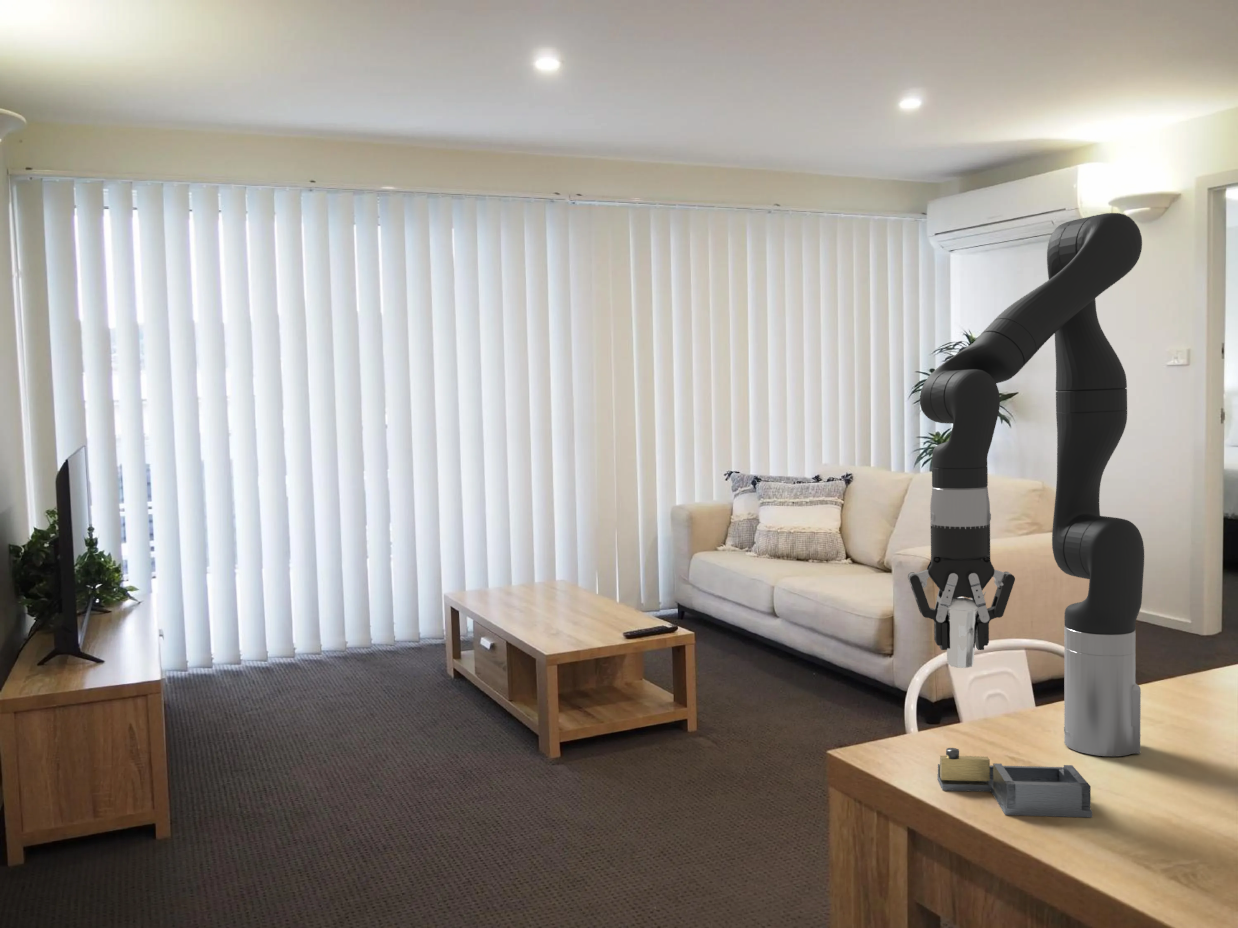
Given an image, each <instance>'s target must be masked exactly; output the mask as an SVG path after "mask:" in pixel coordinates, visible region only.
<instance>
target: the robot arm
mask: <svg viewBox="0 0 1238 928" xmlns="http://www.w3.org/2000/svg"><path fill="white" fill-rule="evenodd" d="M1047 244H1048V245H1047V250H1046V265H1047V266H1046V267H1047V275H1048V276H1047V277H1048V280H1047V281H1045V282H1044V283H1042V284H1041V285H1039V286H1037V287H1036V288H1035V289H1033V290H1032V291H1030V292H1029V293H1027V294H1026V295H1024V296H1022V297H1021V298H1019V299H1018V300H1016V301H1015V302H1013V303H1012V304H1011V305H1009V306H1008V307H1006V309H1004V310H1003V311H1002V312H1001V313H1000V314H998V315H997V317H996V318H994V320H993V321H992V322H991V323H990V324H989V325H988V326H987V327H986V328H985V329H984V330H983V331H982V332H981V333H980V335H979V336H978V337H977V338H976V339H975V341H973V343H971V344H970V345H968V346H967V347H965V348H964V349H962V350H960V351H959V352H957V353H956V354H954V355H953V356H952V357H950V358H949V359H947V360H946V361H944V362H943V363H942V364H941V365H939V366H938V367H937V368H936V369H935V370H933V371H932V372H931V373H930V375H928V377H927V379H926V380H925V381H924V383H923V385H922V386H921V387H922V388H921V390H920V393H919V405H920V408H921V411H922V413H923V414H924V415H925V417H927V418H928V419H929V420H931V421H933V422H935V423H939V424H952V429H951V431H950V435H949V436H950V437H948V438H949V439H948V440H947V441H945V442H942V443H939V444H937V445H936V446H935V447H934V448H933V450H932V454H931V455H932V456H931V495H930V496H931V497H930V505H929V506H930V511H929V512H930V515H929V516H930V561H929V564H928V565H927V567H926V569H924V570H920V571H917V572H909V573H908V575H907V579H908V583H909V584H910V588H911V590H912V594H913V596H914V599H915V602H916V604H917V607H918V610H919V613H920V614H921V615H922V617H923V618H925V619H931V620H932V621H933V626H934V627H933V633H934V634H933V635H934V636H933V637H934V641H935V644H936V645H937V646H938V647H939V648H940V650H941V651H947V623H946V622H945V618H946V615H947V611H948V607H949V606H950V603H951V600H952V598H958V597H964V598H968V599H972V600H973V601H974V602H975V604H976V606H977V607H978V621H977V629H976V640H975V649H976V650H977V651H984V650H985V646H988V645H989V642H990V630H989V629H990V625H989V624H990V622H991V621H992V620H994V619H997V618H1002V617H1003V616H1004V614H1005V610H1006V608H1007V604H1008V603H1009V599H1010V595H1011V593H1012V590H1013V587H1014V583H1015V582H1016V577H1015V575H1013V574H1012V573H1010V572H1009V571H1001V570H998V569H995V567H994V565H993V564H992V563H993V562H992V561H991V520H992V513H991V506H990V503H991V502H990V497H989V489H988V486H989V485H988V483H989V481H988V478H989V477H988V475H989V474H988V473H989V471H988V457H989V456H988V455H989V452H990V449H991V444H992V442H993V437H994V433H995V431H996V430H995V429H996V426H997V421H998V417H999V414H1000V413H999V412H1000V406H1001V400H1000V398H1001V397H1000V390H999V387H998V385H997V384H999V383H1003V382H1006V381H1008V380H1011V379H1012V378H1013V377H1015V376H1016V374H1018V373H1019V372H1020V371H1021V370H1022V369H1023V367H1024V366H1025V365H1026V364H1028V362H1029V361H1030V360H1031V359H1032V358H1033V357H1034V356H1035V354H1036V353H1037V352H1038V351H1040V349H1041V348H1042V346H1044V345H1045V344H1046V343H1047V341H1048V340H1049V339H1051V338H1052V337H1053V336H1054V348H1055V409H1056V410H1055V415H1056V416H1055V417H1056V419H1055V420H1056V433H1057V434H1056V437H1057V439H1056V440H1057V441H1056V443H1057V446H1056V449H1057V450H1056V451H1057V452H1056V483H1055V484H1056V488H1055V497H1054V498H1055V499H1054V507H1053V508H1054V509H1053V510H1054V511H1053V517H1052V518H1053V520H1052V531H1051V533H1052V534H1051V546H1052V548H1051V549H1052V554H1053V557H1054V561H1055V563H1056V565H1057V567H1058V568H1059V569H1060V571H1062V572H1063V573H1064V574H1067V575H1069V576H1072V577H1076V578H1080V579H1086V580H1089V582H1088V593H1087V597H1086V598H1084V600H1081V601H1079V602H1075V603H1071V604H1069V605H1068V606H1066V607H1065V610H1064V626H1063V627H1064V631H1063V632H1064V633H1063V635H1064V642H1063V643H1064V647H1063V648H1064V652H1063V653H1064V663H1063V664H1064V677H1063V678H1064V684H1063V685H1064V687H1063V688H1064V692H1063V693H1064V700H1063V701H1064V702H1063V705H1064V709H1063V710H1064V714H1063V715H1064V716H1063V717H1064V723H1063V725H1064V727H1063V732H1064V733H1063V734H1064V738H1063V739H1064V741H1063V743H1064V745H1065V746H1066V747H1067V748H1070V749H1071V750H1074V751H1076V752H1079V753H1083V754H1087V755H1092V756H1100V757H1101V756H1102V757H1122V756H1123V757H1124V756H1128V755H1131V754H1141V707H1142V706H1141V701H1142V700H1141V697H1142V696H1141V695H1142V694H1141V693H1142V692H1141V691H1142V690H1141V686H1140V685H1138V683H1136V629H1137V628H1136V627H1137V626H1136V625H1137V624H1136V622H1137V619H1138V616H1139V613H1140V610H1141V607H1142V604H1143V603H1142V601H1143V587H1144V585H1143V583H1144V569H1145V547H1144V546H1145V545H1144V541H1143V537H1142V534H1141V531H1140V529H1139V528H1138V527H1137V526H1136V525H1135V524H1134V523H1133V522H1131V521H1130V520H1128V519H1125V518H1119V517H1114V516H1105V515H1104V516H1103V515H1101V512H1100V494H1101V493H1100V491H1101V484H1102V483H1101V482H1102V477H1103V474H1104V471H1105V469H1106V467H1107V465H1108V463H1109V462H1110V459H1111V458H1112V456H1113V454H1114V452H1115V450H1116V449H1117V447H1118V444H1119V443H1120V441H1121V439H1122V437H1123V434H1124V431H1126V430H1125V429H1126V426H1127V420H1128V382H1127V375H1126V372H1125V369H1124V367H1123V364H1122V362H1121V360H1120V358H1119V356H1118V355H1117V353H1116V351H1115V350H1114V348H1113V345H1111V343H1110V342H1109V340H1108V338H1107V337H1106V335H1105V333H1104V331H1103V329H1102V326H1101V324H1100V322H1099V318H1098V313H1097V304H1096V303H1097V302H1096V298H1098V297H1099V296H1100V295H1101V294H1102V293H1104V292H1105V291H1106V290H1108V289H1109V288H1111V287H1112V286H1113V285H1114V284H1116V283H1117V282H1119V281H1120V280H1122V279H1123V278H1124V277H1125V276H1126V275H1128V274H1129V273H1130V272H1131V271H1132V270H1133V269H1134V267H1135V266H1136V265H1137V264H1138V261H1139V260H1140V257H1141V253H1142V249H1143V238H1142V233H1141V230H1140V227H1139V226H1138V224H1137V223H1136V221H1135V220H1133V219H1132V218H1131V217H1130V216H1128V215H1126V214H1123V213H1119V212H1106V213H1101V214H1096V215H1091V216H1087V217H1082V218H1078V219H1073V220H1070V221H1066V222H1064V223H1061V224H1059V225H1058V226H1057V227H1056V228H1055V229H1054V230H1053V232H1052V234H1051V235H1050V237H1049V240H1048V242H1047ZM929 578H930V579H931V580H932V581H933V583H934V584H935V586H936V587H937V588H938V591H937V596H936V603H935V605H934V608H933V607H930V604H929V602H928V599H927V595H926V593H925V591H924V589H925V588H926V587H927V585H928V579H929ZM992 578H993V580H994V581H993V582H994V583H993V584H994V585H995V586H996V587H997V588H996V591H995V593H994V596H993V599H992V603H991V605H990V607H988V606H987V605H986V604H987V602H986V599H985V595H984V592H983V590H984V589H985V587H986V586H988V583H989V582H990V580H991V579H992ZM983 595H984V596H983Z"/></svg>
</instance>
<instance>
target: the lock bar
mask: <svg viewBox="0 0 1238 928" xmlns="http://www.w3.org/2000/svg"><path fill="white" fill-rule="evenodd" d="M990 761H991V759H990V758H989V757H988V756H981V755H980V756H979V755H978V756H976V755H975V756H973V755H960V750H959V749H958V748H955V747H946V749H945V755H939V764H940V778H941V780H964V781H990V765H991V763H990Z"/></svg>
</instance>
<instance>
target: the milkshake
mask: <svg viewBox="0 0 1238 928" xmlns="http://www.w3.org/2000/svg"><path fill="white" fill-rule="evenodd" d="M986 593H987V591H984V592H983V596H984V597H985V595H986ZM977 621H978V607H977V606H976V604H975V602H974V601H973V600H972V599H971V598H967V597H963V596H962V597H958V598H952V600H951V603H950V606H949V607H948V611H947V615H946V618H945V622H946V623H947V650H946V660H947V661H946V662H947V663H946V664H947V665H949V666H950V667H954V668H960V669H962V668H963V669H968V668H972V667H973V666H974V663H975V662H974V661H975V649H976V645H975V640H976V629H977Z"/></svg>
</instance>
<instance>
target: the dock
mask: <svg viewBox="0 0 1238 928" xmlns="http://www.w3.org/2000/svg"><path fill="white" fill-rule="evenodd" d="M937 782H938V784H939V786H940V788H941V790H942V791H955V792H956V791H958V792H959V791H960V792H967V791H968V792H990V793H991V794H992V795H993V798H994V799H995V800H996V803H997V804H998V806H999V808H1000V809H1001V811H1002V812H1003V814H1004V816H1026V817H1027V816H1028V817H1062V818H1063V817H1064V818H1068V817H1069V818H1093V809H1091V785H1090V784H1089V783H1088V782H1087V780H1086V779H1085V778H1084V777H1083V776H1082V774H1081V773H1080V772H1079V771H1078V770H1077V769H1076V768H1075V766H1074V765H1072V764H1064V765H1063V766H1035V765H1033V766H1032V765H1003V764H1002V763H992V765H991V764H990V781H964V780H941V778H940V763H937Z"/></svg>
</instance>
